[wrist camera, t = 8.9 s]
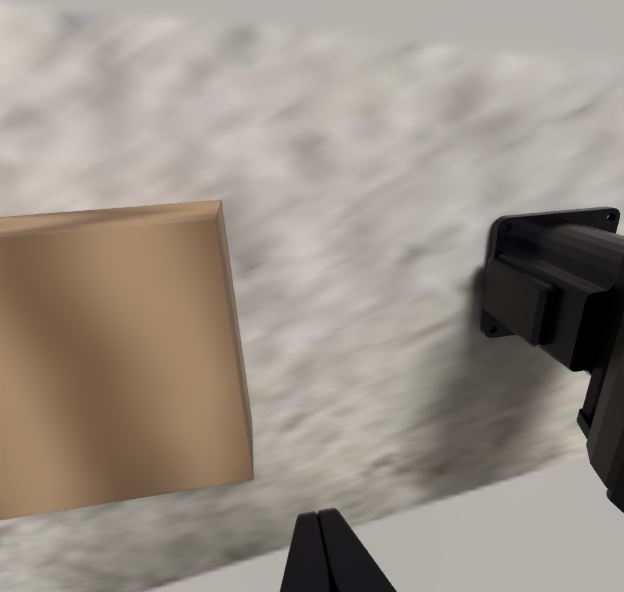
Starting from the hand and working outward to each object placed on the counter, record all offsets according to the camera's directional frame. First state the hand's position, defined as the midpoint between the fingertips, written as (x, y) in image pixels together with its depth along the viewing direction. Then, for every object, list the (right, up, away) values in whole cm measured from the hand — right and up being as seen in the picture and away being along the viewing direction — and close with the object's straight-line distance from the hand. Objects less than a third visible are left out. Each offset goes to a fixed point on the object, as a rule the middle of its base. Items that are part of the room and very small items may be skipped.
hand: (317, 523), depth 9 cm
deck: (-9, +3, +10) cm, 14 cm away
